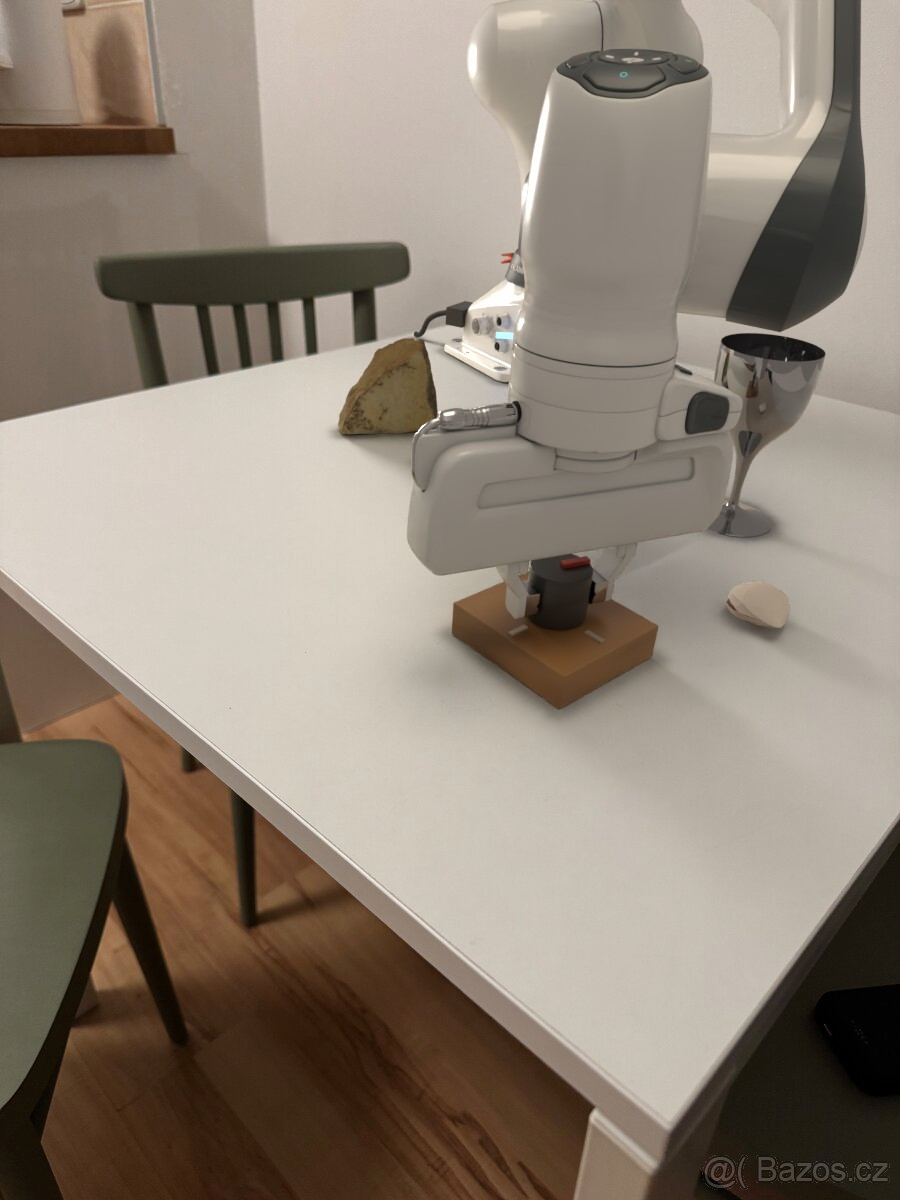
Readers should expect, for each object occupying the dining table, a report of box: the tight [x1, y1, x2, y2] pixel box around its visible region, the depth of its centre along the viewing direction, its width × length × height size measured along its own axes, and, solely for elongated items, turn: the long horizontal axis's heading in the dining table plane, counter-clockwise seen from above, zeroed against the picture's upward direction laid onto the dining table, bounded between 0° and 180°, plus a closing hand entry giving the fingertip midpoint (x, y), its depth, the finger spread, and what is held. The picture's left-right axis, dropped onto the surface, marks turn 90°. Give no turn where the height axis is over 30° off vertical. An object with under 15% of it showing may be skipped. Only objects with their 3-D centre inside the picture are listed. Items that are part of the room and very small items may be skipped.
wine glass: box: [706, 332, 826, 538], centre depth 70 cm, size 8×8×15 cm
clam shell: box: [726, 580, 791, 629], centre depth 59 cm, size 4×5×2 cm
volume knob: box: [528, 553, 593, 630], centre depth 54 cm, size 4×4×4 cm
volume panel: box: [451, 570, 659, 710], centre depth 55 cm, size 10×9×3 cm
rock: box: [337, 337, 439, 435], centre depth 87 cm, size 11×9×10 cm
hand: (558, 605), depth 54 cm, fingers closed on volume knob, 4 cm apart
